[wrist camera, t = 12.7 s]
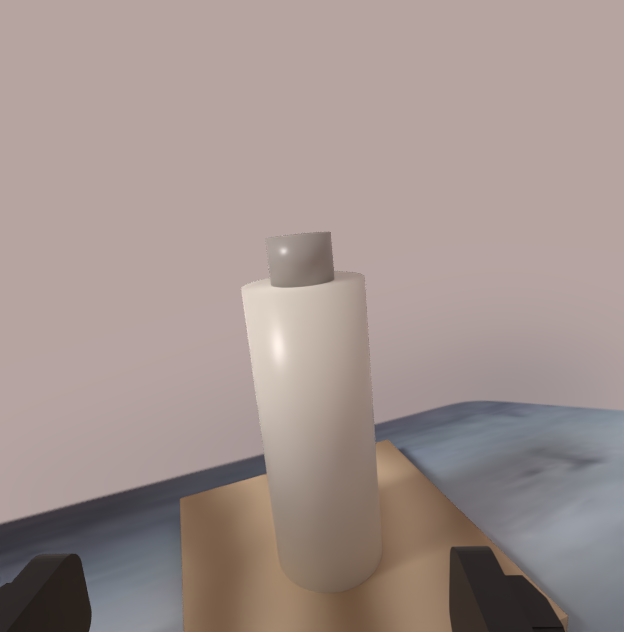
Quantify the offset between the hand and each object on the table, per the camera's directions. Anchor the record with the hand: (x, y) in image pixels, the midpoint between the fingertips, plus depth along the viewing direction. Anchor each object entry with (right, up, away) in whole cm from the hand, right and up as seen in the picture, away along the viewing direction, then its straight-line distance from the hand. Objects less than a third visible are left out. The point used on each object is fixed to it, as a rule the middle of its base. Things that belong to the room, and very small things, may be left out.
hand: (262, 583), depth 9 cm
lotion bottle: (+2, -6, +12) cm, 14 cm away
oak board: (+2, -7, +13) cm, 15 cm away
